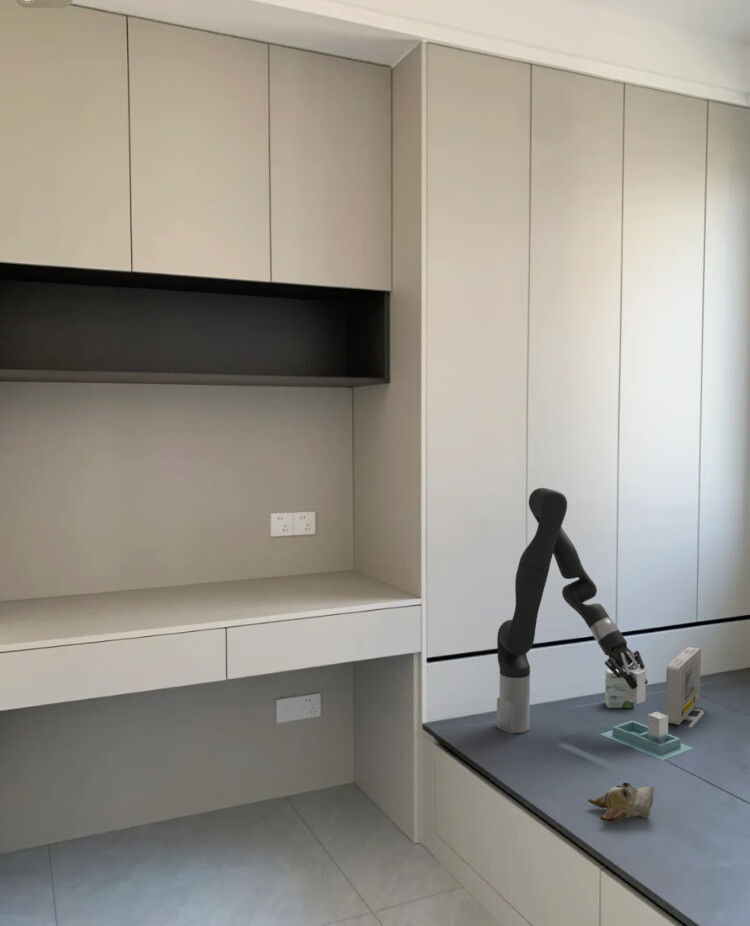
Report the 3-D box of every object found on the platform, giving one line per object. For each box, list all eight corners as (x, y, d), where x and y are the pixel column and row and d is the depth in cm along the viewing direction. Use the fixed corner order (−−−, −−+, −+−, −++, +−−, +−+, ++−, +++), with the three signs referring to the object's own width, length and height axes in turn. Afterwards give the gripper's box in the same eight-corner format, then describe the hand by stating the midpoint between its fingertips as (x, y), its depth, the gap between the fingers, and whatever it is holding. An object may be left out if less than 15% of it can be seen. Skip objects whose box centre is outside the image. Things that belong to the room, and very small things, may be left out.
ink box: (631, 703, 280) (631, 668, 279) (634, 708, 275) (634, 673, 274) (604, 702, 280) (605, 667, 280) (607, 707, 276) (607, 672, 275)
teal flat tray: (662, 765, 232) (662, 751, 232) (600, 739, 250) (600, 726, 250) (693, 753, 240) (693, 739, 240) (630, 728, 258) (630, 716, 258)
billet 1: (636, 703, 245) (637, 673, 244) (625, 699, 248) (625, 670, 247) (645, 701, 247) (645, 671, 246) (634, 697, 250) (634, 667, 249)
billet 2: (658, 749, 239) (659, 718, 238) (647, 744, 242) (647, 714, 241) (667, 746, 241) (668, 715, 240) (655, 741, 244) (656, 711, 244)
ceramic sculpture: (662, 790, 198) (600, 796, 197) (663, 825, 199) (601, 831, 198) (644, 771, 209) (585, 776, 208) (646, 804, 209) (587, 810, 208)
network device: (680, 703, 279) (682, 644, 278) (708, 709, 274) (709, 649, 273) (657, 727, 259) (659, 664, 257) (686, 734, 254) (688, 669, 252)
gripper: (599, 633, 248) (632, 684, 239) (630, 625, 256) (663, 675, 247) (585, 646, 253) (616, 697, 244) (616, 638, 261) (648, 687, 252)
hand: (640, 685), depth 246 cm, fingers closed on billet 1, 4 cm apart
